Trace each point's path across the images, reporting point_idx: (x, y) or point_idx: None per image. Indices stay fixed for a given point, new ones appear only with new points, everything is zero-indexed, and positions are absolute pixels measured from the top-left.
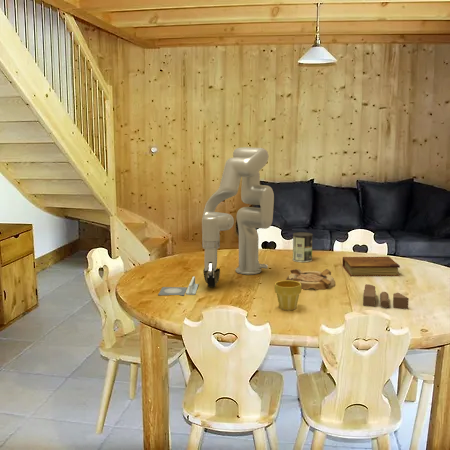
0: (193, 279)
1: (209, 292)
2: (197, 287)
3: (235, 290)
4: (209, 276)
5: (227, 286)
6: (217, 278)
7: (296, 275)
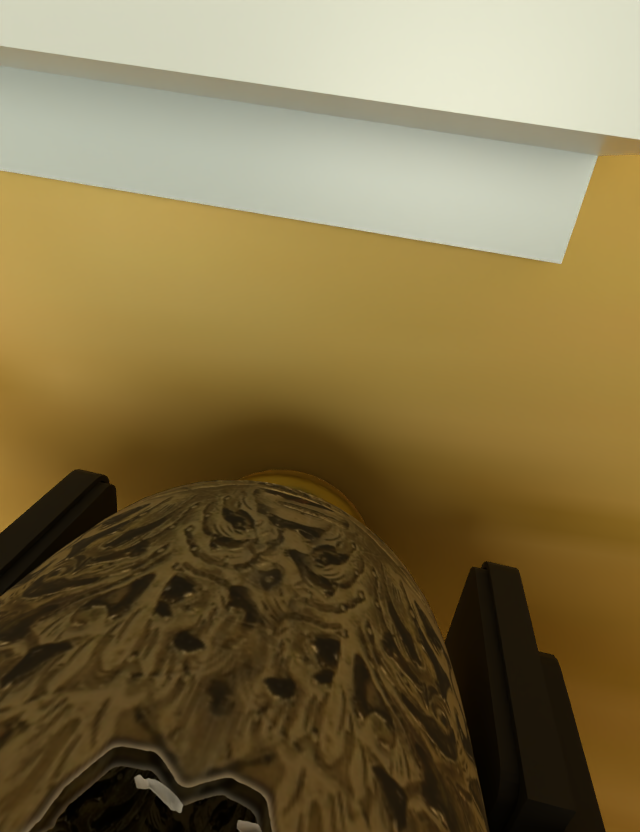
0: (162, 47)
1: (3, 435)
2: (276, 214)
3: None
4: None
5: None
6: (101, 789)
7: None
